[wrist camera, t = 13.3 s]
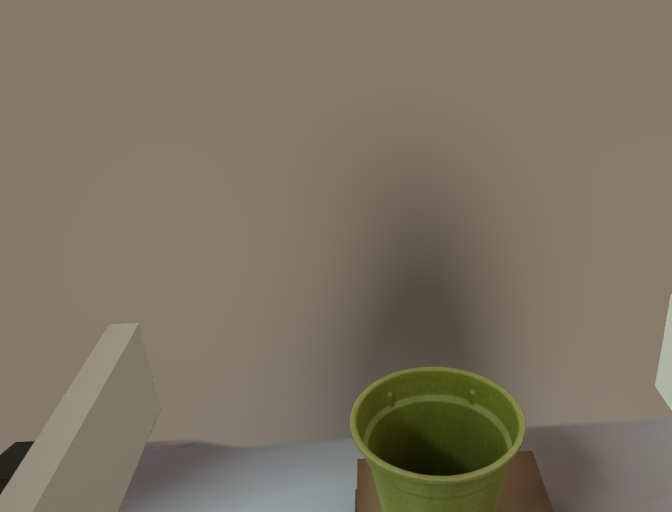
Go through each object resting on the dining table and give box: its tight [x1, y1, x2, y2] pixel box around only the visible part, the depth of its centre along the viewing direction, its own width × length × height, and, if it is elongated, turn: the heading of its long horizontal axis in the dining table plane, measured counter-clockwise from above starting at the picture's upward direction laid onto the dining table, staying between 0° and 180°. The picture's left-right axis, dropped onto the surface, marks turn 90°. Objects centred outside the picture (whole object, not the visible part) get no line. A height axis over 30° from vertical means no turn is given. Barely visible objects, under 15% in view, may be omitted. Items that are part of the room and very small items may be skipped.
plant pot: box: [350, 367, 525, 512], centre depth 37 cm, size 9×9×9 cm
